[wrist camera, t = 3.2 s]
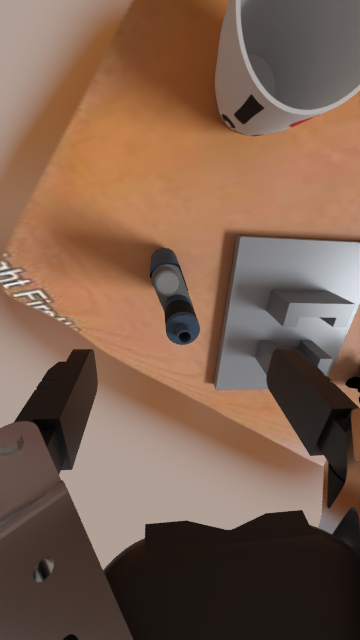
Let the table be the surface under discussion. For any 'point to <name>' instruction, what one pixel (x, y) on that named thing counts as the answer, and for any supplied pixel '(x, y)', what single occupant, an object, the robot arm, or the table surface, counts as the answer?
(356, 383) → the cat figurine
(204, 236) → the table surface
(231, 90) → the cup
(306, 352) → the dock
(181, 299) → the vaping device
